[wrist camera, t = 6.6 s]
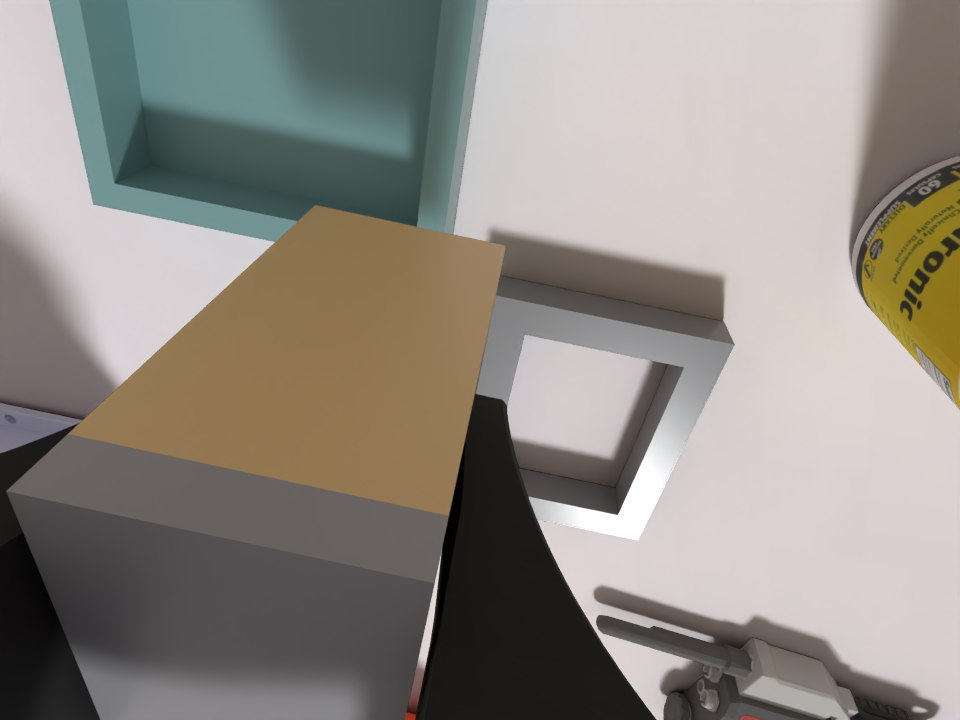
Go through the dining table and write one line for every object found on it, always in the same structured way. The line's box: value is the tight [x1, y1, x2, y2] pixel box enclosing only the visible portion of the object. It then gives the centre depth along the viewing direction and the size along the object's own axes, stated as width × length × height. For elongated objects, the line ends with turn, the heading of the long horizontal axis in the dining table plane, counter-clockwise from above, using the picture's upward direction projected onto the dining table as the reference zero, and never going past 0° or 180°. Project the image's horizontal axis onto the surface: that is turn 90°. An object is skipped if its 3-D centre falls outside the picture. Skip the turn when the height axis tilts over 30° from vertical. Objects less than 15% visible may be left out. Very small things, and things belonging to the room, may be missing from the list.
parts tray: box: [49, 0, 488, 242], centre depth 16 cm, size 11×11×2 cm
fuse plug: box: [6, 205, 506, 720], centre depth 10 cm, size 4×6×8 cm, turn 170°
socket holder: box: [476, 276, 734, 540], centre depth 22 cm, size 8×10×2 cm
